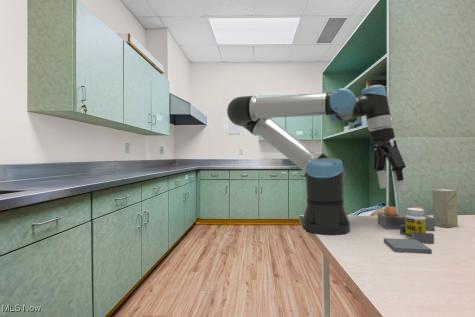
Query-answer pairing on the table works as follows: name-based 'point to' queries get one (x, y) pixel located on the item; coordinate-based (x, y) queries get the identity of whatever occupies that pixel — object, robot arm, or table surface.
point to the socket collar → (419, 235)
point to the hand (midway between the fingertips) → (392, 189)
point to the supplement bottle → (415, 221)
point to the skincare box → (445, 208)
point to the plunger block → (401, 221)
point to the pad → (407, 245)
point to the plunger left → (390, 211)
